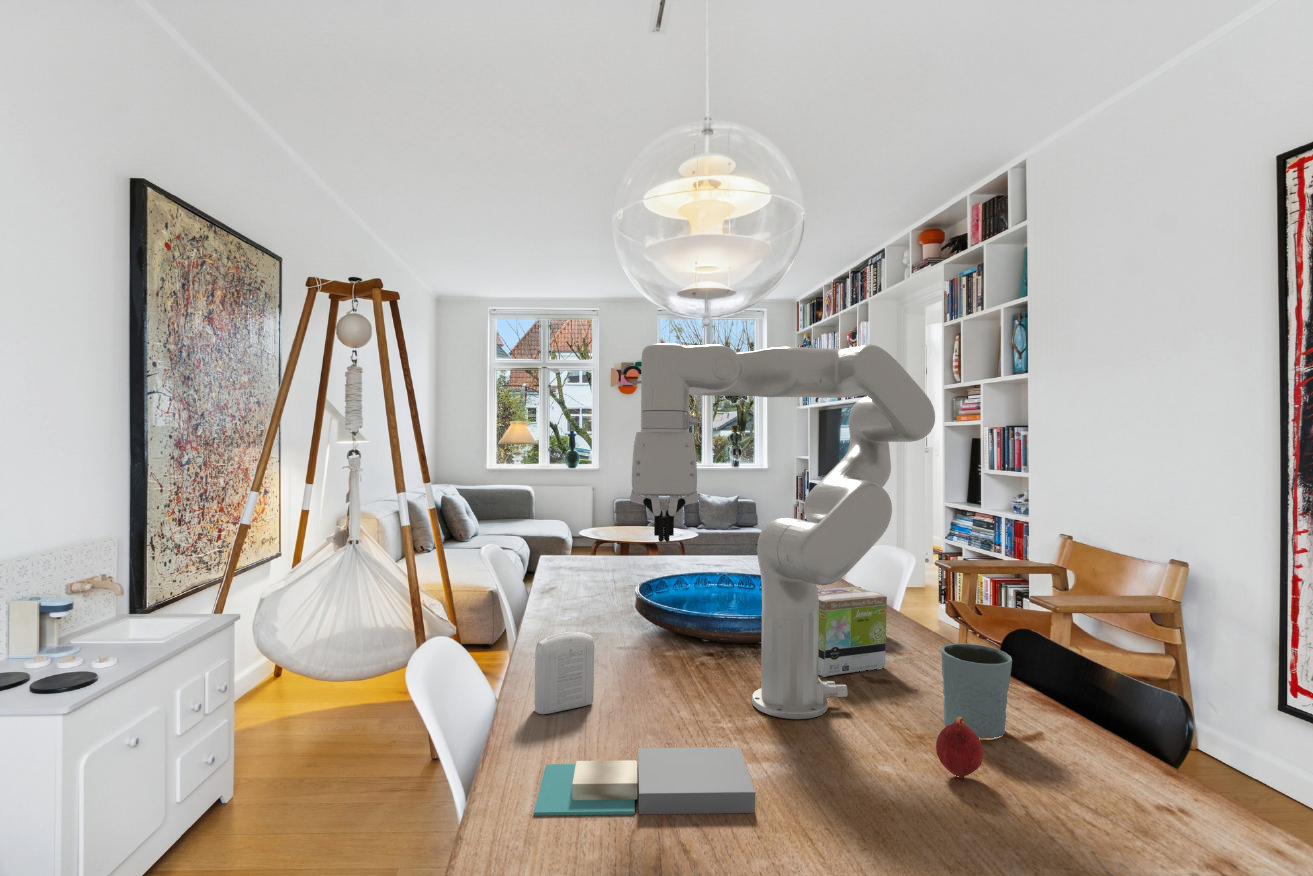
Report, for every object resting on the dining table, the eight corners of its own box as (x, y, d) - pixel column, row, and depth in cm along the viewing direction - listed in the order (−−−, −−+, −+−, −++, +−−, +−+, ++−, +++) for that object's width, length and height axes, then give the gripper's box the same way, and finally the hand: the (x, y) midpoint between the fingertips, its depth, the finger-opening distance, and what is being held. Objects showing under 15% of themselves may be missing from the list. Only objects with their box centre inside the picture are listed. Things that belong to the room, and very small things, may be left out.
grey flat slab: (739, 765, 94) (739, 747, 94) (755, 813, 82) (755, 792, 82) (637, 766, 93) (637, 748, 93) (638, 814, 82) (639, 793, 82)
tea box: (825, 679, 128) (825, 601, 129) (794, 663, 138) (794, 590, 138) (887, 669, 134) (888, 594, 135) (853, 654, 144) (854, 584, 144)
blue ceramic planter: (955, 711, 114) (956, 639, 114) (1021, 730, 107) (1021, 653, 107) (929, 728, 107) (930, 652, 107) (997, 750, 99) (998, 668, 99)
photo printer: (585, 696, 119) (586, 625, 119) (597, 705, 115) (598, 631, 115) (530, 709, 113) (531, 634, 113) (541, 718, 109) (541, 641, 109)
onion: (980, 793, 87) (980, 730, 87) (932, 780, 90) (932, 720, 90) (985, 774, 92) (985, 715, 92) (939, 763, 95) (940, 706, 95)
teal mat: (633, 766, 93) (634, 763, 93) (634, 814, 81) (634, 811, 81) (546, 767, 93) (546, 764, 93) (533, 815, 81) (533, 812, 81)
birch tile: (636, 775, 90) (637, 760, 90) (637, 799, 84) (637, 783, 84) (576, 776, 90) (576, 761, 90) (572, 800, 84) (572, 784, 84)
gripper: (709, 424, 111) (708, 537, 111) (617, 423, 110) (616, 537, 110) (715, 423, 103) (714, 544, 103) (616, 422, 103) (615, 544, 103)
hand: (663, 540), depth 107 cm, fingers closed
